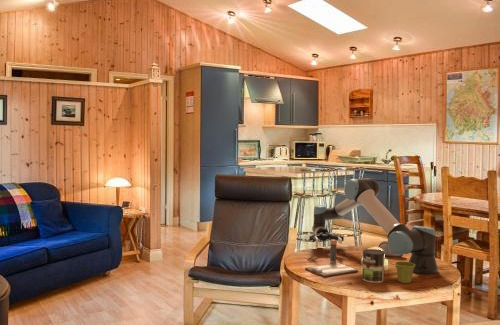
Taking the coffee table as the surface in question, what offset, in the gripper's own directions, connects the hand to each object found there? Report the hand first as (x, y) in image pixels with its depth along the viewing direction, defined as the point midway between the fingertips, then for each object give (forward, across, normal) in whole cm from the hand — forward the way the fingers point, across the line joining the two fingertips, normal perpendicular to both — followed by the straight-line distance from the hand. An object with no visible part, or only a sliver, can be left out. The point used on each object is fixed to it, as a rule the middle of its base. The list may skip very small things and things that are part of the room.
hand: (329, 241), depth 280 cm
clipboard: (+24, +4, -10) cm, 27 cm away
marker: (+10, 0, -10) cm, 14 cm away
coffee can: (+40, -14, -10) cm, 44 cm away
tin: (-7, -39, -10) cm, 41 cm away
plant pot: (+43, -28, -10) cm, 52 cm away
